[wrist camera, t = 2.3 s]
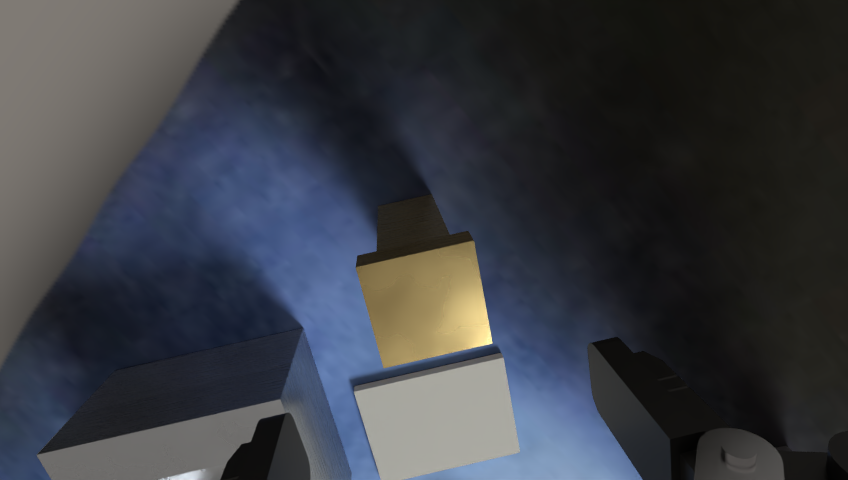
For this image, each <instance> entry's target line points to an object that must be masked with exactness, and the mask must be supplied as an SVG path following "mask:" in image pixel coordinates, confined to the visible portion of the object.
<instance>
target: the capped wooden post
mask: <svg viewBox="0 0 848 480" xmlns="http://www.w3.org/2000/svg"><path fill="white" fill-rule="evenodd" d="M356 270H357V273H358V277H359V281H360V284H361V288H362V292H363V295H364V299H365V302H366V306H367V310H368V313H369V317H370V320H371V324H372V328H373V331H374V335H375V338H376V342H377V346H378V349H379V353H380V356H381V360H382V364H383V367H384V368H387V367H391V366H395V365H400V364H404V363H409V362H413V361H417V360H422V359H426V358H431V357H435V356H439V355H444V354H448V353H452V352H457V351H461V350H466V349H470V348H474V347H479V346H483V345H488V344H492V338H491V332H490V327H489V321H488V316H487V310H486V305H485V299H484V294H483V288H482V283H481V277H480V272H479V266H478V261H477V255H476V250H475V244H474V240H473V238H472V237H471V235H470V233H469V232H468V231H465V232H461V233H456V234H452V235H450V234H449V232H448V230H447V227H446V225H445V223H444V221H443V218H442V216H441V214H440V212H439V209H438V207H437V205H436V203H435V200H434V198H433V196H432V194H430V195H425V196H421V197H416V198H412V199H407V200H403V201H398V202H394V203H389V204H385V205H381V206H378V226H377V251H376V252H372V253H367V254H363V255H358V256H357V262H356Z"/></svg>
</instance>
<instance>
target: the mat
mask: <svg viewBox="0 0 848 480" xmlns="http://www.w3.org/2000/svg"><path fill="white" fill-rule="evenodd" d="M354 394H355V397H356V400H357V404H358V407H359V410H360V413H361V417H362V420H363V423H364V426H365V430H366V433H367V436H368V439H369V443H370V446H371V449H372V452H373V456H374V459H375V462H376V465H377V468H378V472H379V475H380V478H381V480H403V479H407V478H412V477H416V476H420V475H425V474H429V473H433V472H438V471H442V470H446V469H451V468H455V467H459V466H464V465H468V464H472V463H476V462H481V461H485V460H489V459H494V458H498V457H502V456H507V455H511V454H515V453H520V449H519V444H518V438H517V432H516V427H515V421H514V415H513V409H512V404H511V398H510V392H509V387H508V381H507V375H506V369H505V364H504V358H503V356H502V353H498V354H493V355H489V356H485V357H480V358H476V359H471V360H467V361H463V362H458V363H454V364H450V365H445V366H441V367H436V368H432V369H428V370H423V371H419V372H415V373H410V374H406V375H401V376H397V377H393V378H388V379H384V380H380V381H375V382H371V383H366V384H362V385H358V386H354Z"/></svg>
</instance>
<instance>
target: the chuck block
mask: <svg viewBox="0 0 848 480" xmlns="http://www.w3.org/2000/svg"><path fill="white" fill-rule="evenodd" d="M284 413H290V414H291V415H292V416H293V419H294V421H295V424H296V426H297V429H298V432H299V434H300V437H301V440H302V443H303V445H304V448H305V451H306V453H307V456H308V459H309V464H310V474H311V478H310V480H351V475H352V473H351V470H350V467H349V464H348V461H347V458H346V455H345V452H344V449H343V446H342V443H341V440H340V437H339V434H338V431H337V428H336V425H335V422H334V419H333V416H332V413H331V410H330V407H329V404H328V401H327V398H326V395H325V392H324V389H323V386H322V383H321V380H320V377H319V374H318V371H317V368H316V365H315V362H314V359H313V356H312V353H311V350H310V347H309V344H308V341H307V338H306V335H305V332H304V329H303V328H301V329H297V330H292V331H288V332H283V333H279V334H274V335H270V336H266V337H261V338H257V339H252V340H248V341H244V342H239V343H235V344H230V345H226V346H222V347H217V348H213V349H208V350H204V351H199V352H195V353H191V354H186V355H182V356H177V357H173V358H169V359H164V360H160V361H155V362H151V363H146V364H142V365H138V366H133V367H129V368H124V369H120V370H116V371H114V372H113V373H112V374H111V375H110V376H109V377H108V378H107V380H106V381H105V382H104V383H103V384H102V385H101V386H100V387H99V388H98V389H97V390H96V391H95V393H94V394H93V395H92V396H91V397H90V398H89V399H88V400H87V401H86V402H85V403H84V404H83V405H82V407H81V408H80V409H79V410H78V411H77V412H76V413H75V414H74V415H73V416H72V417H71V418H70V419H69V421H68V422H67V423H66V424H65V425H64V426H63V427H62V428H61V429H60V430H59V431H58V432H57V433H56V435H55V436H54V437H53V438H52V439H51V440H50V441H49V442H48V443H47V444H46V445H45V446H44V447H43V449H42V450H41V451H40V452H39V453H38V454H37V457H38V458H39V460H40V461H41V463H42V465H43V466H44V468H45V470H46V471H47V473H48V474H49V476H50V478H51V479H52V480H220V479H221V476H222V474H223V471H224V469H225V466H226V464H227V461H228V460H229V459H230V458H231V456H232V455H233V454H234V453H235V452H236V450H237V449H238V448H239V447H240V445H241V444H244V443H248V442H251V440H252V437H253V434H254V432H255V429H256V426H257V423H258V421H259V420H260V419H262V418H267V417H271V416H275V415H280V414H284Z"/></svg>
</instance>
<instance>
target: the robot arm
mask: <svg viewBox="0 0 848 480" xmlns="http://www.w3.org/2000/svg"><path fill="white" fill-rule="evenodd" d="M588 359H589V369H590V379H591V388H592V395H593V399H594V402H595V405H596V407H597V410H598V412H599V414H600V415H601V417H602V418H603V420H604V421H605V423H606V425H607V426H608V428H609V429H610V431H611V432H612V434H613V435H614V437H615V438H616V440H617V441H618V443H619V444H620V446H621V447H622V449H623V450H624V452H625V453H626V455H627V456H628V458H629V459H630V461H631V462H632V464H633V465H634V467H635V468H636V470H637V471H638V473H639V474H640V476H641V477H642V479H643V480H848V431H845V432H841V433H838V434H836V435H834V436H833V437H832V438H831V439H830V441H829V445H828V453H824V452H794V451H792V450H791V449H790V448H788V447H787V446H782V447H777V448H774V447H773V446H772V445H771V444H770V443H769V442H767V441H766V440H764V439H763V438H761V437H759V436H757V435H755V434H753V433H750V432H747V431H744V430H740V429H734V428H730V427H729V426H728V425H727V424H726V423H725V422H724V421H723V420H722V419H721V418H720V417H719V416H718V415H717V414H716V413H715V412H714V411H713V410H712V409H711V408H710V407H709V406H708V405H707V404H706V403H705V402H704V401H703V400H702V399H701V398H700V397H699V396H698V395H697V394H696V393H695V392H694V391H693V390H692V389H691V388H690V387H689V388H688V387H687V384H686V383H685V382H684V381H683V380H682V379H681V378H680V377H679V376H678V377H677V376H676V373H675V372H674V371H673V370H672V369H671V368H670V367H668V366H667V365H666V364H665V363H664V362H663V361H662V360H660V359H658V358H656V357H654V356H652V355H650V354H648V353H646V352H644V351H642V352H638V353H633V352H632V351H631V350H630V349H629V348H628V347H627V346H626V345H625V344H624V343H623V342H622V340H621V339H619V338H618V337H614V338H610V339H606V340H601V341H597V342H593V343H589V344H588ZM310 478H311V474H310V464H309V459H308V456H307V453H306V451H305V448H304V445H303V443H302V440H301V437H300V434H299V432H298V429H297V426H296V424H295V421H294V419H293V416H292V415H291V414H290V413H284V414H280V415H275V416H271V417H267V418H262V419H260V420H259V421H258V423H257V426H256V429H255V432H254V434H253V437H252V440H251V442H248V443H244V444H241V445H240V447H239V448H238V449H237V450H236V452H235V453H234V454H233V455H232V456H231V458H230V459H229V460H228V461H227V464H226V466H225V469H224V471H223V474H222V476H221V479H220V480H310Z"/></svg>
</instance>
